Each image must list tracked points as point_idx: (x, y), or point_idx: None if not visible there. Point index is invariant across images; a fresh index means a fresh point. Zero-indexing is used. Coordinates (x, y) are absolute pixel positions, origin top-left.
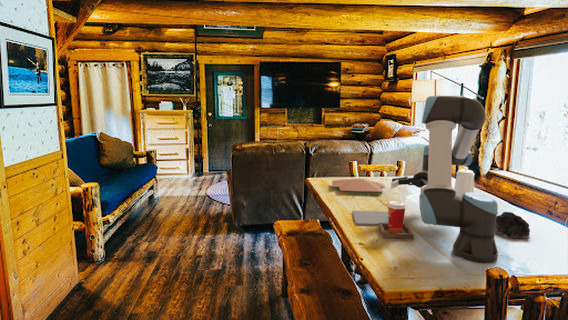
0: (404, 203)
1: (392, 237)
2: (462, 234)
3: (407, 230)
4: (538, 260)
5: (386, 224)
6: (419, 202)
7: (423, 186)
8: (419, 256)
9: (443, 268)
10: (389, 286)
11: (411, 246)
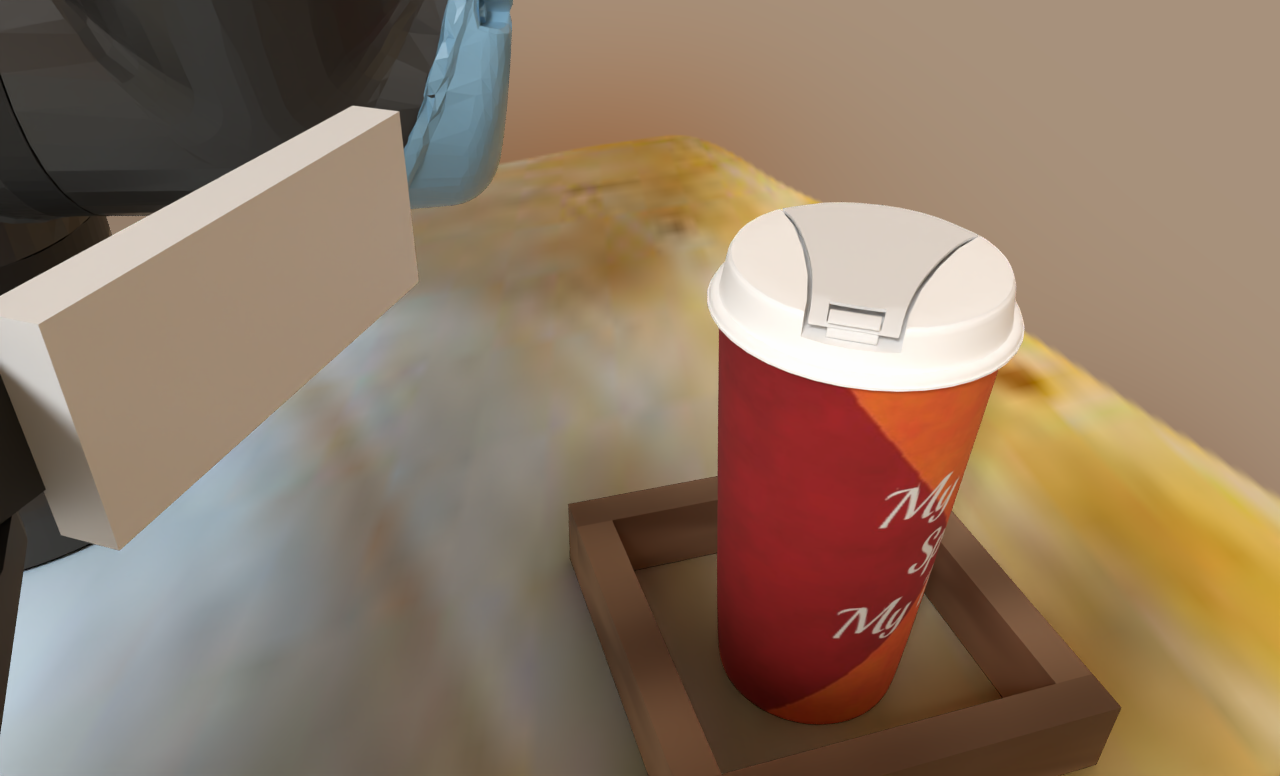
0: (747, 276)
1: None
2: (110, 231)
3: (650, 619)
4: None
5: (988, 706)
6: (511, 24)
7: (266, 181)
8: (525, 336)
9: None
10: (677, 144)
11: (587, 440)
